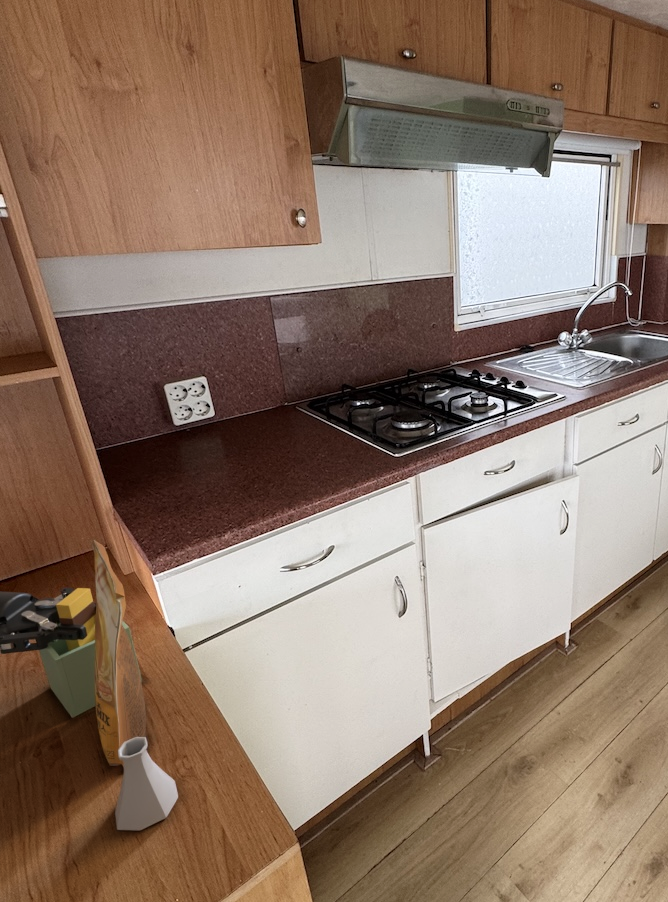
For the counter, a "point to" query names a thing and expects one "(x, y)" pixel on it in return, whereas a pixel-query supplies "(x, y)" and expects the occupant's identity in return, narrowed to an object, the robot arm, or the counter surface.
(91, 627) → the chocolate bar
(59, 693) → the trash can
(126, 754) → the flask
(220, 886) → the counter surface
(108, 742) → the pancake mix bag
